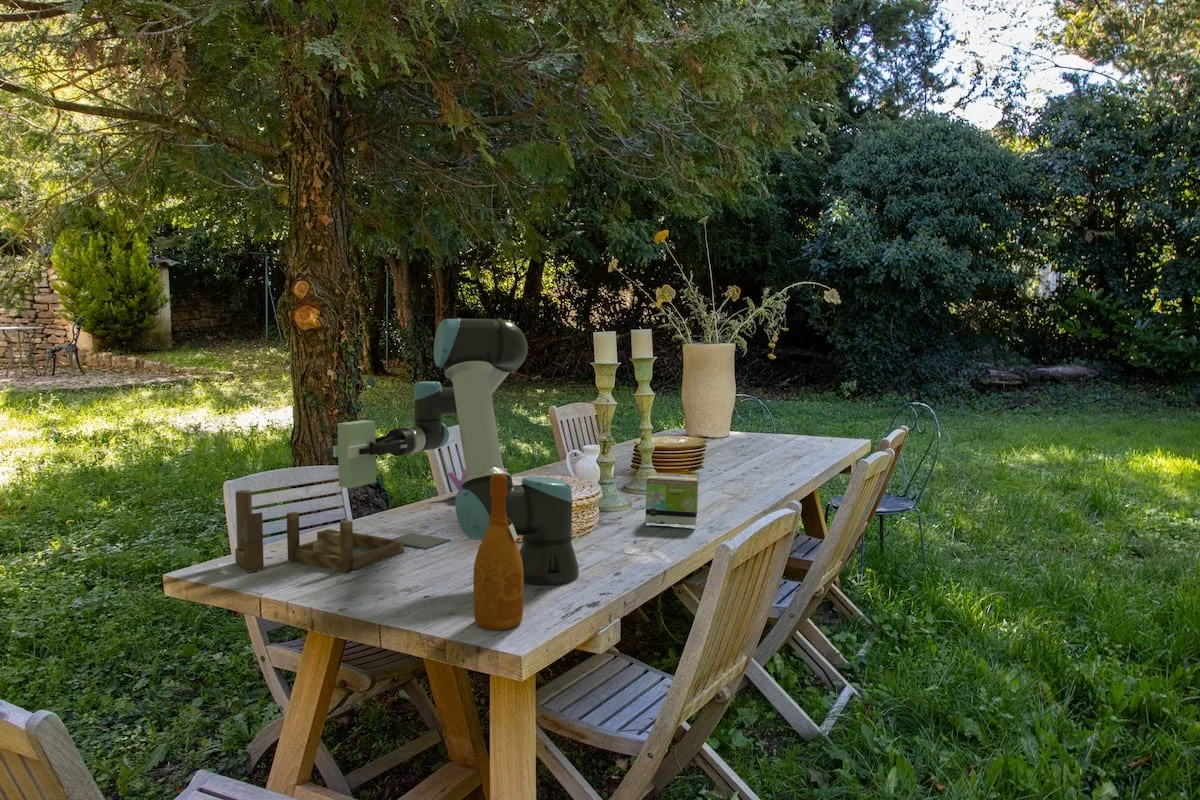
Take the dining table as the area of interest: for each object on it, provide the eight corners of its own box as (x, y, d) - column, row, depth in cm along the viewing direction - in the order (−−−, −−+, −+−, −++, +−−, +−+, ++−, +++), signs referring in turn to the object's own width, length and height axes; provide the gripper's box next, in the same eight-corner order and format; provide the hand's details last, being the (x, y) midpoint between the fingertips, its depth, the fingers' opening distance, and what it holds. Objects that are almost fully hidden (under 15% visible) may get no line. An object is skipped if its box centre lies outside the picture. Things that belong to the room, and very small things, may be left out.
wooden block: (248, 573, 193) (246, 498, 191) (235, 562, 201) (232, 490, 199) (264, 570, 195) (262, 496, 193) (250, 560, 203) (248, 489, 202)
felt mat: (450, 540, 223) (450, 539, 223) (426, 549, 214) (426, 548, 214) (410, 534, 230) (410, 532, 230) (385, 542, 221) (385, 540, 221)
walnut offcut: (347, 543, 202) (347, 533, 201) (336, 546, 199) (336, 536, 198) (328, 539, 205) (328, 529, 205) (317, 542, 202) (317, 531, 202)
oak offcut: (350, 552, 203) (350, 542, 203) (342, 556, 200) (342, 545, 199) (321, 550, 205) (321, 540, 204) (313, 553, 201) (313, 543, 201)
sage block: (376, 482, 212) (375, 421, 210) (350, 488, 204) (349, 424, 202) (364, 480, 214) (363, 420, 212) (338, 486, 206) (337, 423, 204)
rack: (404, 552, 211) (403, 507, 210) (347, 572, 194) (346, 523, 193) (347, 542, 220) (346, 498, 219) (287, 560, 203) (286, 513, 202)
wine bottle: (496, 636, 155) (496, 481, 153) (463, 623, 162) (462, 474, 159) (533, 622, 163) (534, 474, 160) (500, 610, 169) (500, 467, 167)
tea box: (644, 527, 240) (645, 477, 239) (648, 519, 250) (649, 471, 249) (696, 529, 238) (697, 479, 237) (697, 521, 248) (698, 473, 247)
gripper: (429, 457, 220) (367, 470, 199) (381, 451, 228) (316, 464, 207) (429, 429, 219) (366, 439, 199) (380, 425, 227) (316, 434, 207)
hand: (341, 452), depth 203 cm, fingers closed on sage block, 4 cm apart
